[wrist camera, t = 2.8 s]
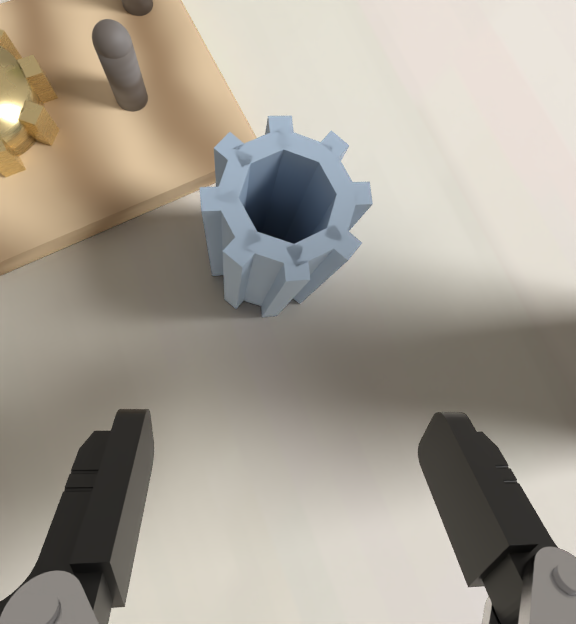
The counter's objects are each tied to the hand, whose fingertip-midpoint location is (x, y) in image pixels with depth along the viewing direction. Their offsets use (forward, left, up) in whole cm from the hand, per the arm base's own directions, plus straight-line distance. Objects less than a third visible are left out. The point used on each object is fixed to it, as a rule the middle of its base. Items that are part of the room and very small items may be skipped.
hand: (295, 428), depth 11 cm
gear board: (+2, -20, -12) cm, 24 cm away
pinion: (-4, -7, -12) cm, 15 cm away
